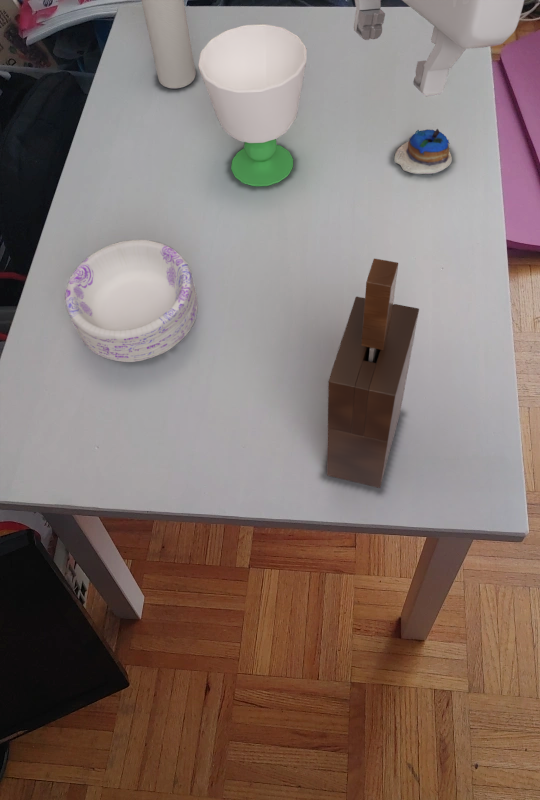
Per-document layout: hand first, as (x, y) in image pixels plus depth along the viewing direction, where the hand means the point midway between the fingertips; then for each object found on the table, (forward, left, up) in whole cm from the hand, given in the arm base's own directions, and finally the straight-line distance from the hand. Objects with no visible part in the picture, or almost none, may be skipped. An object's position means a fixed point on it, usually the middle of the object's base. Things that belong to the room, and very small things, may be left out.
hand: (395, 62), depth 53 cm
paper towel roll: (+30, -54, -36) cm, 72 cm away
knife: (0, +13, -26) cm, 29 cm away
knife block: (0, +13, -36) cm, 38 cm away
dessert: (-8, -34, -36) cm, 50 cm away
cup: (+15, -33, -36) cm, 52 cm away
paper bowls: (+28, -3, -36) cm, 46 cm away
